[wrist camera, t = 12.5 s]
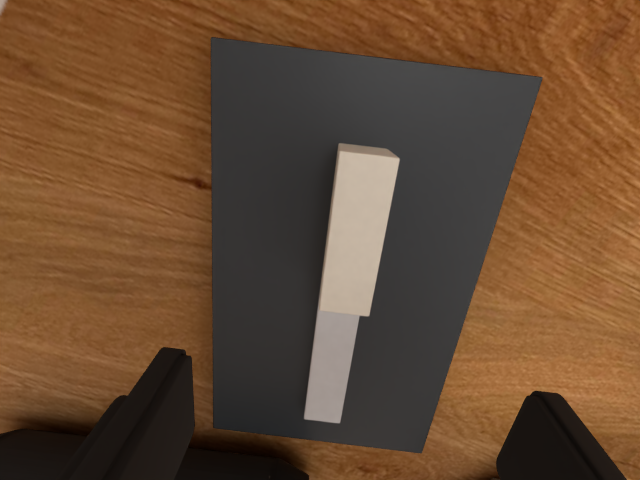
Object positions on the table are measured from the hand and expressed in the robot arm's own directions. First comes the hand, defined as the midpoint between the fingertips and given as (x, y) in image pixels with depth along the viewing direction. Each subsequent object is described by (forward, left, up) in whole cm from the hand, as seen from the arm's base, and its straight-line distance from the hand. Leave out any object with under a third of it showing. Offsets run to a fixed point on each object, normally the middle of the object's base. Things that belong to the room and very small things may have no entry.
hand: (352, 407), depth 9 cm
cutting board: (0, -3, -13) cm, 13 cm away
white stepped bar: (0, -3, -11) cm, 11 cm away
